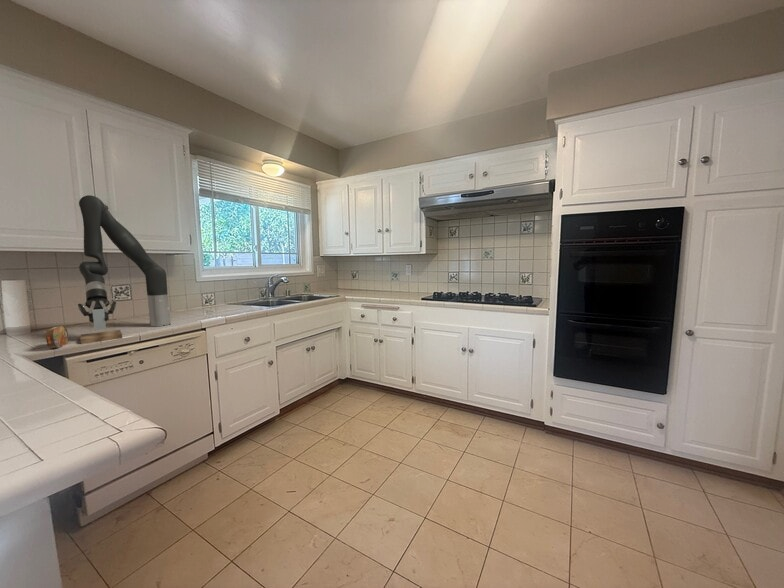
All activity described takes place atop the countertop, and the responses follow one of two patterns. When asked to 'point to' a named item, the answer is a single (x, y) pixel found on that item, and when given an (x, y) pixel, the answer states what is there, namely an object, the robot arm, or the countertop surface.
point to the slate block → (99, 319)
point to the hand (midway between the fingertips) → (99, 320)
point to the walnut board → (100, 336)
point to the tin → (57, 337)
